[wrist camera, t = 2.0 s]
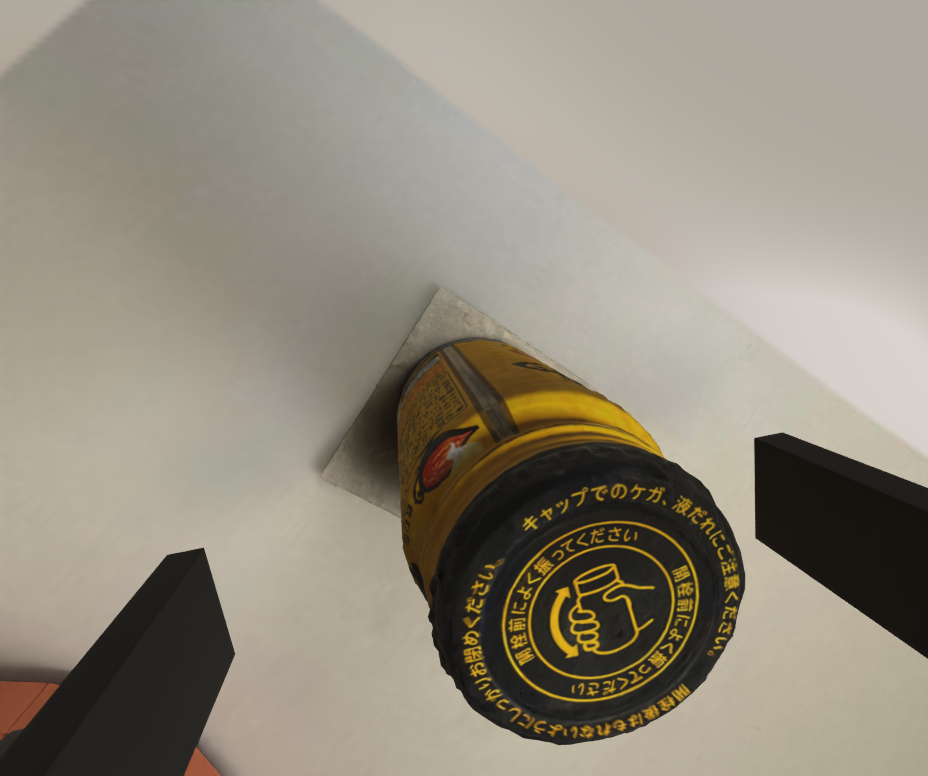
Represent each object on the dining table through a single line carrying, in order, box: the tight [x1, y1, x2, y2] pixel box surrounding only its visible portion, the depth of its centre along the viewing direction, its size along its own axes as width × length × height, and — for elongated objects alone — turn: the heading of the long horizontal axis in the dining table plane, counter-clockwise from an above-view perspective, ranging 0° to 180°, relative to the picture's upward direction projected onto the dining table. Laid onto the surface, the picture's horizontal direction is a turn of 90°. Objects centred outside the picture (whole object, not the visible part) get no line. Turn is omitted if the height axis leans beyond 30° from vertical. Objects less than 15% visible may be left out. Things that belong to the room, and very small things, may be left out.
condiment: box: [319, 286, 745, 745], centre depth 13 cm, size 7×8×12 cm
